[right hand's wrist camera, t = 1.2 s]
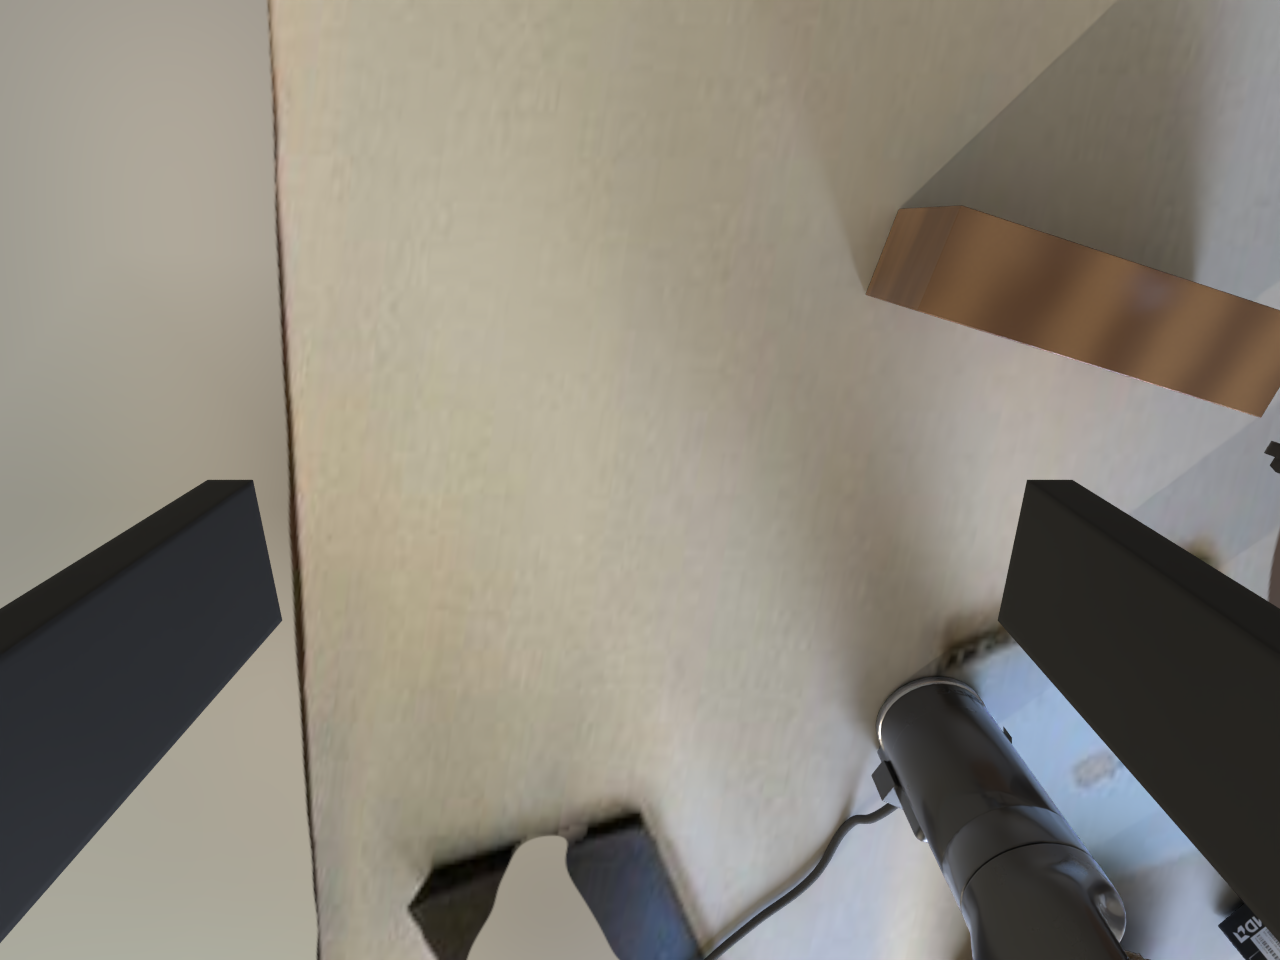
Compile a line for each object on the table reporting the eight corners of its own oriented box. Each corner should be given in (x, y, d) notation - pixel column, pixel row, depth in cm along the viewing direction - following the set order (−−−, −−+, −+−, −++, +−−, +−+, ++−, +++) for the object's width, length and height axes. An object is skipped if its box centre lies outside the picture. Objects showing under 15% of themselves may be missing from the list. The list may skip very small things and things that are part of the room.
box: (865, 294, 50) (917, 310, 41) (898, 208, 48) (961, 205, 39) (1150, 383, 52) (1261, 418, 43) (1193, 304, 50) (1319, 323, 41)
